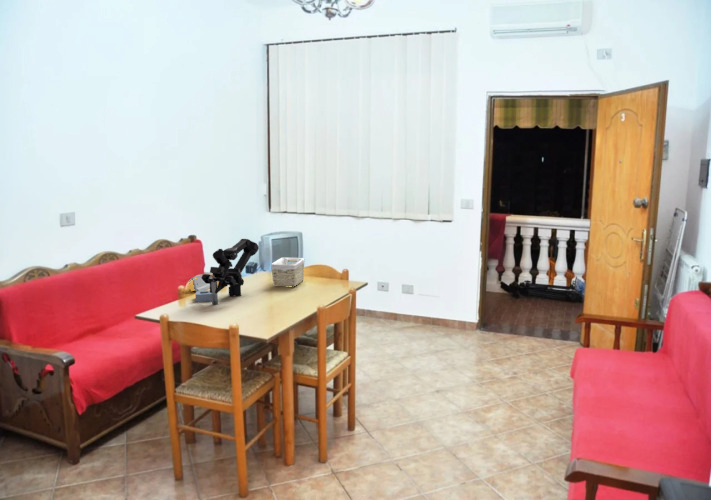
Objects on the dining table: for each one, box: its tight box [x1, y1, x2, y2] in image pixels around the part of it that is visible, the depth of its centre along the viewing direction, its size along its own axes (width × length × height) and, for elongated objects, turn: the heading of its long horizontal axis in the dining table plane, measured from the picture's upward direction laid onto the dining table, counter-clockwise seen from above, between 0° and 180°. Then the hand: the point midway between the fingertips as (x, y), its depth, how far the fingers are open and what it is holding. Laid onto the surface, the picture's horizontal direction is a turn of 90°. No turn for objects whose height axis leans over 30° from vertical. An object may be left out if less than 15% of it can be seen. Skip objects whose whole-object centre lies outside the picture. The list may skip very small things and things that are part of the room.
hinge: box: [188, 273, 210, 292], centre depth 334 cm, size 17×5×10 cm, turn 163°
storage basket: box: [270, 257, 305, 287], centre depth 350 cm, size 24×16×15 cm
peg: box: [211, 281, 219, 306], centre depth 299 cm, size 3×3×12 cm
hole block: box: [195, 289, 212, 303], centre depth 310 cm, size 9×9×4 cm
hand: (213, 292), depth 298 cm, fingers closed on peg, 3 cm apart
